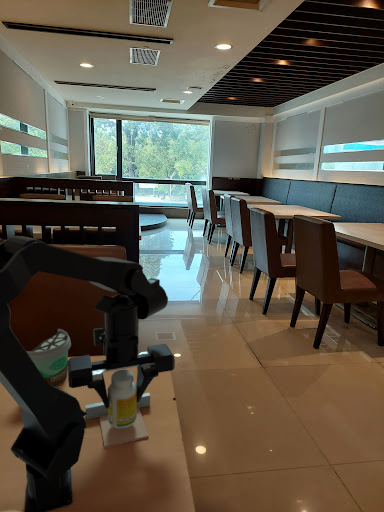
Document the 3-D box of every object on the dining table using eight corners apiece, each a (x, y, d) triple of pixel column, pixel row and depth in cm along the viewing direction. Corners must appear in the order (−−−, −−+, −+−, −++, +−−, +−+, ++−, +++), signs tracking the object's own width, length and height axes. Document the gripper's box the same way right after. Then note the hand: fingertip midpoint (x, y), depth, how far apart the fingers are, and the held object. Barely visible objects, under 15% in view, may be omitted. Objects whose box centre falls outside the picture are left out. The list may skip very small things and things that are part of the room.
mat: (148, 437, 64) (148, 435, 64) (104, 448, 61) (104, 446, 61) (139, 409, 71) (139, 408, 71) (99, 418, 68) (99, 416, 68)
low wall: (150, 405, 72) (150, 395, 72) (86, 419, 68) (85, 408, 67) (149, 402, 73) (149, 392, 73) (85, 416, 69) (85, 405, 68)
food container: (50, 399, 73) (47, 357, 71) (26, 393, 75) (22, 352, 72) (83, 368, 85) (81, 331, 82) (61, 364, 86) (59, 327, 84)
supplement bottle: (102, 424, 64) (101, 379, 62) (118, 407, 69) (117, 364, 67) (127, 433, 62) (126, 387, 60) (142, 414, 67) (142, 371, 65)
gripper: (159, 306, 72) (158, 372, 75) (64, 316, 65) (68, 388, 69) (176, 329, 61) (174, 404, 65) (66, 343, 55) (70, 426, 59)
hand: (122, 403), depth 65 cm, fingers closed on supplement bottle, 5 cm apart
